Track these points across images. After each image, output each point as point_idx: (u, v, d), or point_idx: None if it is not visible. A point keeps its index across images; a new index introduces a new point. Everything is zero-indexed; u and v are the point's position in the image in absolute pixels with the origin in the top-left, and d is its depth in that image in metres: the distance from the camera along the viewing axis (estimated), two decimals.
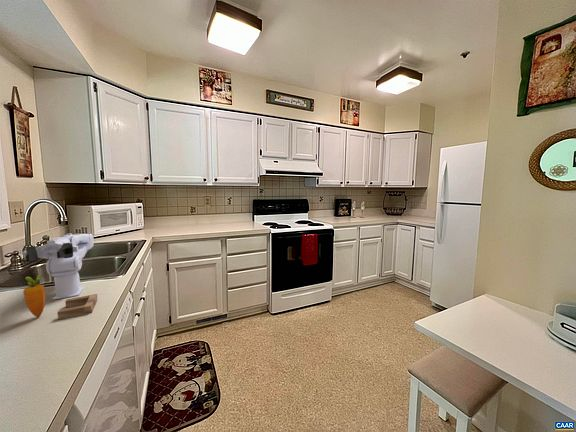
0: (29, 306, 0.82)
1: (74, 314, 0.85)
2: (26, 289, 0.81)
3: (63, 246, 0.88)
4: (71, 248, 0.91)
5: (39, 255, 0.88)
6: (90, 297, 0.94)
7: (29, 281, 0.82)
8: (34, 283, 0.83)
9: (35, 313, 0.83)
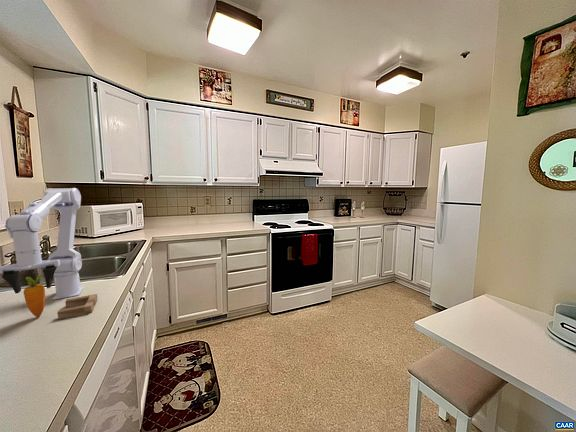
0: (29, 306, 0.82)
1: (74, 314, 0.85)
2: (26, 289, 0.81)
3: (46, 275, 0.83)
4: (54, 268, 0.85)
5: None
6: (90, 297, 0.94)
7: (29, 281, 0.82)
8: (34, 283, 0.83)
9: (35, 313, 0.83)
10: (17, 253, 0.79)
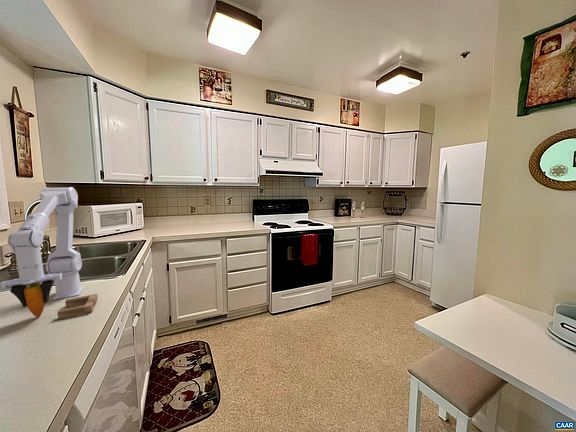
0: (29, 306, 0.82)
1: (74, 314, 0.85)
2: (26, 289, 0.81)
3: (43, 290, 0.83)
4: None
5: None
6: (90, 297, 0.94)
7: None
8: (34, 283, 0.83)
9: (35, 313, 0.83)
10: (19, 268, 0.79)
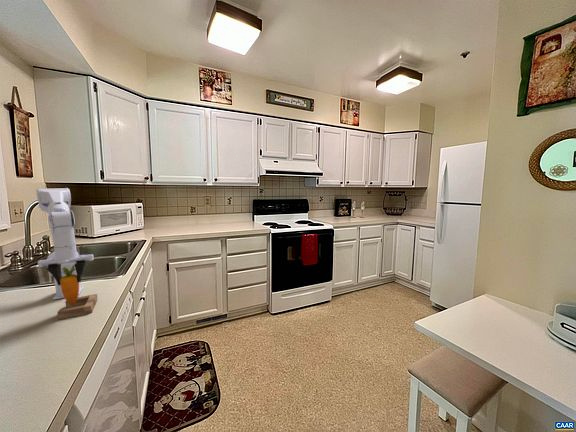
0: (65, 294, 0.86)
1: (74, 314, 0.85)
2: (63, 278, 0.85)
3: (77, 270, 0.87)
4: (84, 263, 0.89)
5: None
6: (90, 297, 0.94)
7: (65, 271, 0.86)
8: (70, 273, 0.87)
9: (70, 302, 0.87)
10: (56, 248, 0.83)
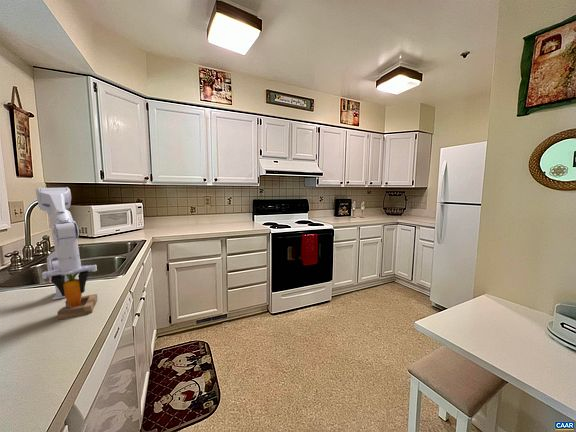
0: (68, 299, 0.87)
1: (74, 314, 0.85)
2: (65, 283, 0.86)
3: (81, 281, 0.88)
4: (87, 274, 0.89)
5: None
6: (90, 297, 0.94)
7: (68, 276, 0.87)
8: (72, 277, 0.87)
9: (73, 306, 0.88)
10: (60, 259, 0.84)
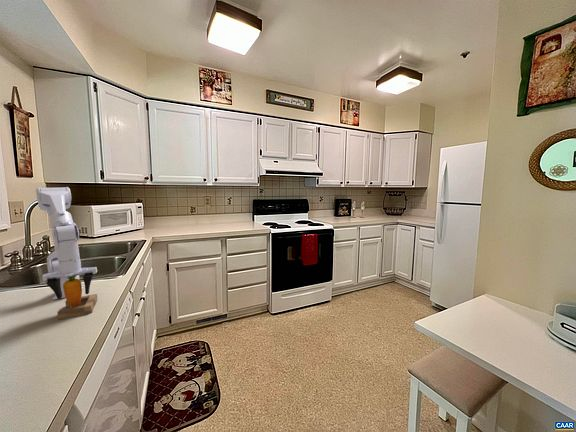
0: (68, 299, 0.87)
1: (74, 314, 0.85)
2: (65, 283, 0.86)
3: (86, 282, 0.88)
4: (92, 275, 0.90)
5: None
6: (90, 297, 0.94)
7: None
8: (72, 277, 0.87)
9: (73, 306, 0.88)
10: (60, 262, 0.84)
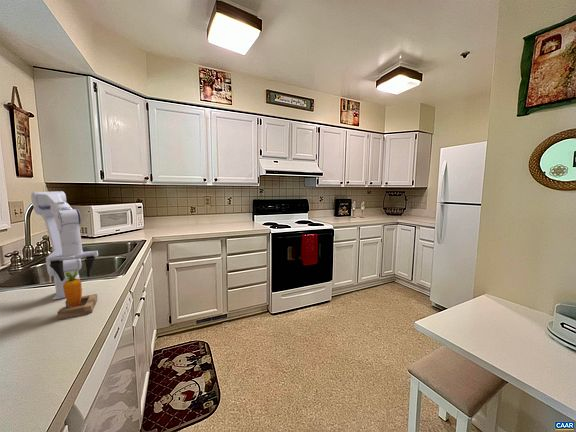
0: (68, 299, 0.87)
1: (74, 314, 0.85)
2: (65, 283, 0.86)
3: (87, 265, 0.92)
4: (93, 258, 0.94)
5: None
6: (90, 297, 0.94)
7: (68, 275, 0.87)
8: (72, 277, 0.87)
9: (73, 306, 0.88)
10: (63, 244, 0.88)
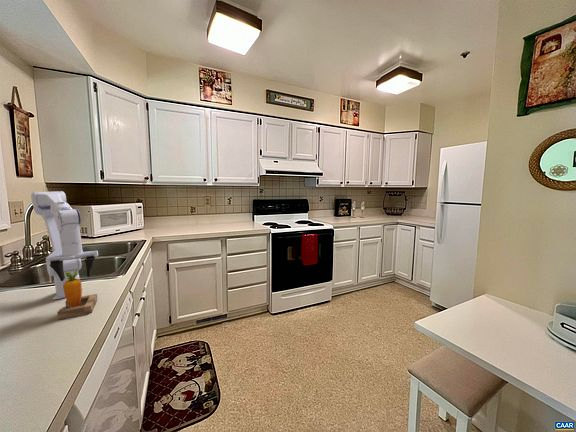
0: (68, 299, 0.87)
1: (74, 314, 0.85)
2: (65, 283, 0.86)
3: (87, 265, 0.92)
4: (93, 258, 0.94)
5: None
6: (90, 297, 0.94)
7: (68, 275, 0.87)
8: (72, 277, 0.88)
9: (73, 306, 0.88)
10: (63, 244, 0.88)
